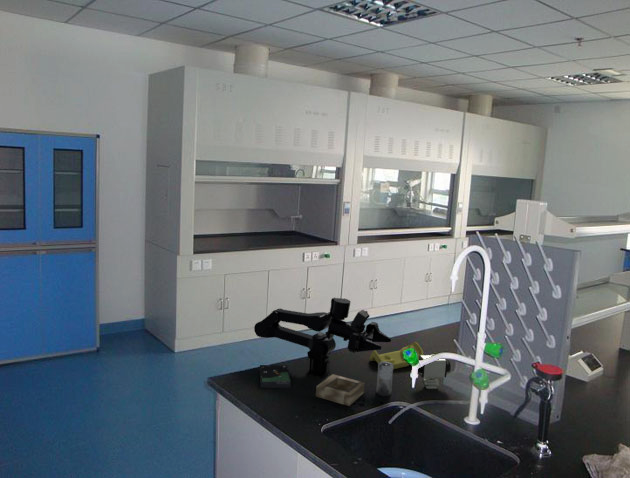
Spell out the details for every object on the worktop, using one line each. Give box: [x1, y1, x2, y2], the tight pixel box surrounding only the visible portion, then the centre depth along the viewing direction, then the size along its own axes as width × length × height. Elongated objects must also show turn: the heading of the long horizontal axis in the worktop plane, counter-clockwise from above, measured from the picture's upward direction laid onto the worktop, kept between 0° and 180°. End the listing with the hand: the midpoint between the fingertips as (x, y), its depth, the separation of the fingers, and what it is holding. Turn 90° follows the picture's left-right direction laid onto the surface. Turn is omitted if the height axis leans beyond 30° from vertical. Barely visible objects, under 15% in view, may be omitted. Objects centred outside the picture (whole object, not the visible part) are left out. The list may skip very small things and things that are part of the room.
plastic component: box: [369, 341, 424, 370], centre depth 200 cm, size 20×7×10 cm
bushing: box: [375, 362, 394, 397], centre depth 172 cm, size 5×5×10 cm
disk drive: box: [259, 364, 292, 389], centre depth 179 cm, size 10×3×15 cm
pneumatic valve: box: [417, 353, 452, 390], centre depth 179 cm, size 6×12×12 cm, turn 99°
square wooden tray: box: [315, 373, 366, 407], centre depth 169 cm, size 12×12×4 cm
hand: (386, 344), depth 173 cm, fingers open, 9 cm apart
